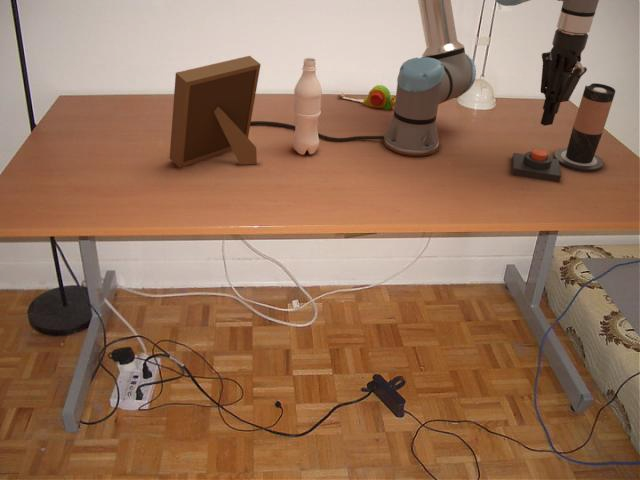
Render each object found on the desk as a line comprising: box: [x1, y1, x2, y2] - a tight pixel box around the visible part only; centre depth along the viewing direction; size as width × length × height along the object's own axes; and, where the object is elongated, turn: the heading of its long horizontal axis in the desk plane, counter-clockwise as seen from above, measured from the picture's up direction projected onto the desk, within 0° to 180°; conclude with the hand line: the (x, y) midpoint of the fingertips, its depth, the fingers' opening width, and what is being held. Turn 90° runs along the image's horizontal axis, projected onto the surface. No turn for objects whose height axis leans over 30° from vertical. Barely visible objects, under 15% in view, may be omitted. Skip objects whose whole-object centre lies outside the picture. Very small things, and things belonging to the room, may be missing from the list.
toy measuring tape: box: [338, 84, 396, 111], centre depth 203 cm, size 6×20×7 cm, turn 65°
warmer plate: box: [553, 147, 604, 173], centre depth 177 cm, size 13×13×1 cm
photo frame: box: [169, 55, 261, 169], centre depth 159 cm, size 15×22×25 cm
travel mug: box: [566, 82, 616, 164], centre depth 172 cm, size 8×8×20 cm
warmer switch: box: [511, 150, 562, 183], centre depth 170 cm, size 12×10×4 cm
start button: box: [531, 148, 548, 161], centre depth 169 cm, size 4×4×2 cm
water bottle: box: [291, 57, 323, 156], centre depth 167 cm, size 7×7×25 cm
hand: (546, 123), depth 164 cm, fingers closed
